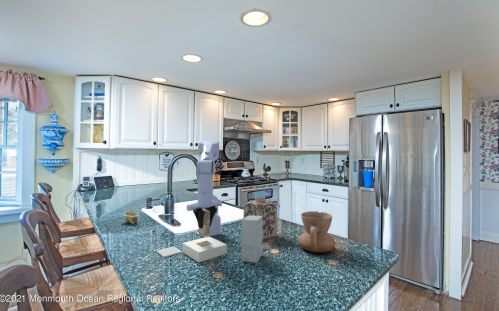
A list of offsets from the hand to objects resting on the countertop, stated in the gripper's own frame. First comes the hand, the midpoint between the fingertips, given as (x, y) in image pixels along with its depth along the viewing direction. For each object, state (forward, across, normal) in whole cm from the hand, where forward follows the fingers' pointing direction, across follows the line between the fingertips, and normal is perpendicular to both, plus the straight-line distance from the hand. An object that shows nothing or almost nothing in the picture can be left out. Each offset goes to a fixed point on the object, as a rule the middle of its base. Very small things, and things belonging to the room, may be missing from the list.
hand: (204, 227), depth 94 cm
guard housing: (+10, 0, 0) cm, 10 cm away
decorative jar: (+10, +31, +1) cm, 33 cm away
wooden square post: (+3, 0, 0) cm, 3 cm away
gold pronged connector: (+11, -9, +60) cm, 62 cm away
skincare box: (+10, +11, -15) cm, 21 cm away
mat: (+10, -10, +9) cm, 17 cm away
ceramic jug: (+10, +36, -26) cm, 46 cm away
